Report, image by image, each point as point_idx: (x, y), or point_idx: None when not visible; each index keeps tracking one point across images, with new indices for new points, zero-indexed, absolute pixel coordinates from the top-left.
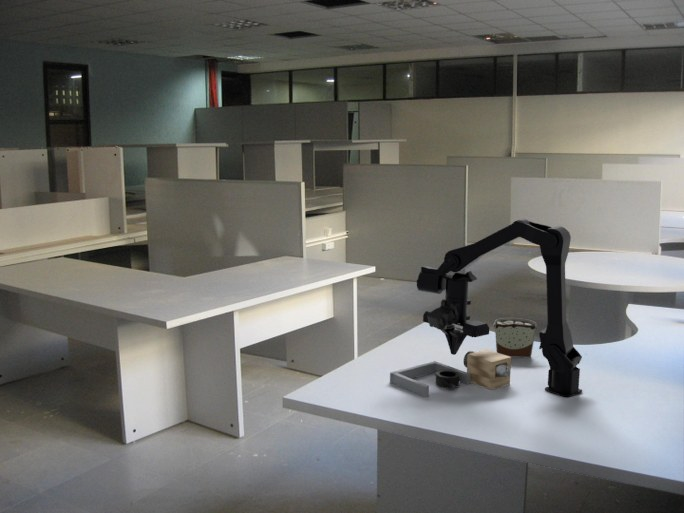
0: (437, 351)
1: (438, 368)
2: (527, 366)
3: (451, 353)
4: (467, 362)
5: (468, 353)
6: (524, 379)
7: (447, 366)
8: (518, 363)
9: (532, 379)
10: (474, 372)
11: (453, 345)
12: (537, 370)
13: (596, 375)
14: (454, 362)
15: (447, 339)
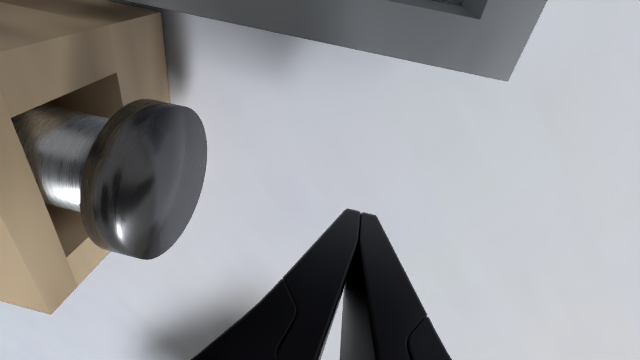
0: (604, 355)
1: (419, 3)
2: (172, 343)
3: (371, 216)
4: (33, 40)
5: (98, 186)
6: None
7: (312, 17)
8: None
9: None
10: (10, 6)
11: (319, 269)
12: (122, 326)
13: (17, 352)
14: (433, 264)
15: (430, 346)
